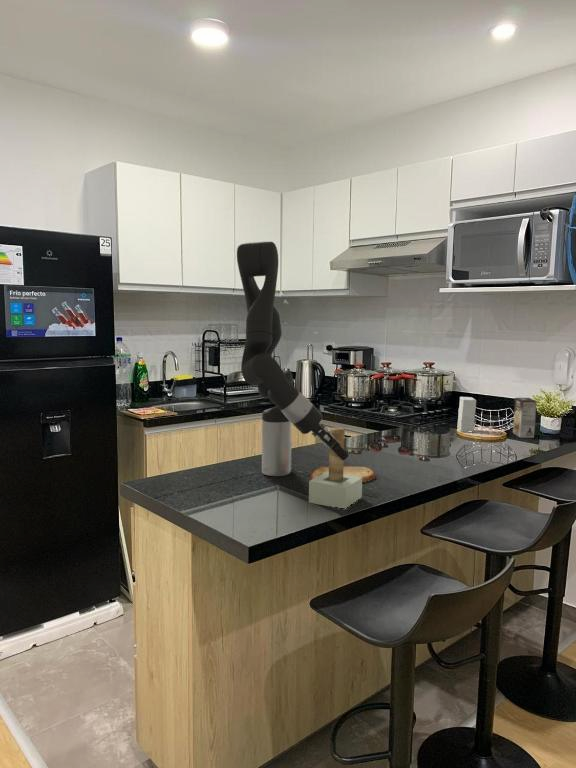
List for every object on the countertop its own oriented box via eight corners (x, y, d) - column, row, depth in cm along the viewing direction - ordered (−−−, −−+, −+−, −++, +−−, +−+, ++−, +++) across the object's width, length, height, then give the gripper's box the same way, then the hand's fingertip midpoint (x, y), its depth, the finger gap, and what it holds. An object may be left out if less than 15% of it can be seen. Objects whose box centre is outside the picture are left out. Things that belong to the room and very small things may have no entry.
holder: (326, 491, 167) (326, 471, 166) (361, 498, 161) (362, 477, 161) (308, 502, 157) (309, 480, 156) (345, 509, 152) (346, 487, 151)
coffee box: (511, 433, 255) (514, 397, 253) (526, 433, 255) (529, 397, 253) (519, 437, 246) (522, 400, 244) (534, 438, 246) (537, 400, 244)
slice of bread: (377, 475, 186) (378, 464, 185) (363, 491, 169) (363, 478, 169) (325, 469, 192) (325, 458, 192) (306, 483, 176) (306, 471, 175)
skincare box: (456, 428, 263) (458, 396, 261) (470, 429, 263) (472, 396, 261) (460, 432, 255) (462, 399, 253) (474, 432, 255) (476, 399, 253)
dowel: (332, 476, 161) (333, 427, 159) (345, 478, 159) (347, 428, 158) (326, 479, 158) (327, 429, 156) (339, 482, 156) (341, 431, 154)
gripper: (317, 406, 148) (361, 452, 151) (305, 399, 162) (346, 440, 165) (296, 427, 147) (341, 472, 151) (286, 418, 161) (327, 459, 165)
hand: (343, 455), depth 158 cm, fingers closed on dowel, 4 cm apart
